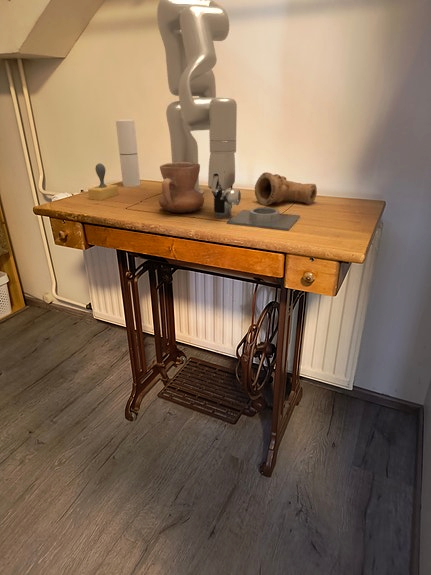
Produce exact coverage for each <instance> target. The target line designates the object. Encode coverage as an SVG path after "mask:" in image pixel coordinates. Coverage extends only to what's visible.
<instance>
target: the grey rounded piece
mask: <svg viewBox="0 0 431 575" xmlns="http://www.w3.org/2000/svg"><path fill="white" fill-rule="evenodd" d="M218 188H220V186H218ZM220 189H221V188H220ZM218 192H220V194H221V191H218ZM241 194H242V193H241V190H240V189H233V188H232V189H231V187H228V188H226V189H224V198H223V199H224V200H225V212H224V213H215V212H214V217H215V218H217V217H218V218H217V219H229V218H231V217H232V208H231V205H232V206H239V205H240V202H241V198H242V195H241ZM230 216H231V217H230ZM228 217H229V218H228Z"/></svg>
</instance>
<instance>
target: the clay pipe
mask: <svg viewBox="0 0 431 575" xmlns="http://www.w3.org/2000/svg"><path fill="white" fill-rule="evenodd" d="M317 194H318V190H317V184H316V183H302V182H295V181H291V180H287V177H286V176H283V175H282V176H281V174H276V173H275V174H273V173H271V172H263V173H262V174H261V175H259V177H258V178H257V180H256V182H255V185H254V196H255V198H256V201H257V202H258V203H259V204H261V205H262V206H264V207H265V206H269V205H272V204H279V203H281V202H282V201H286V200H287V201H293V202H301V203H303V204H305V205H310V204H313V202H315V200H316V198H317Z"/></svg>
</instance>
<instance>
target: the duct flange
mask: <svg viewBox="0 0 431 575" xmlns="http://www.w3.org/2000/svg"><path fill="white" fill-rule="evenodd" d="M300 218H301V215H298V214H292V213H291V214H290V213H289V214H288V213H280V210H279V209H277V208H275V207H268V206H267V207H265V206H263V207H262V206H261V207H254V208H250V209H249V210H248V209H242V210H241V211H240V212H238V213H237V214H235V215H234V216H231V217H230V218H228V220H226V224H227V225H237V226H245V227H252V228H253V227H255V228H261V229H262V228H263V229H270V230H271V229H272V230H279V231H290V229H291V228H292V227H293V226H294V225H295V224H296V223H297V222H298V220H299V219H300Z"/></svg>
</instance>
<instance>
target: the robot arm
mask: <svg viewBox="0 0 431 575" xmlns="http://www.w3.org/2000/svg"><path fill="white" fill-rule="evenodd" d="M156 11H157V13H156V14H157V15H156V19H157V26H158V30H159V34H160V37H161V39H162V44H163V47H164V51H165V63H166V74H167V76H166V77H167V85H168V89H169V92H170V93H171V95H173V96H174V97H178V100H176V101H172V102H170V104H168V105H167V108H166V112H165V113H166V114H165V116H166V122H167V126H168V132H169V139H170V150H171V151H170V153H171V154H170V155H171V163H176V162H190V163H191V164H192V163H198V164H199V148H198V147H199V146H198V141H197V139H196V138H195V137H194V136H193V134H192V133H191V132H193V131H194V132H196V131H198V132H199V131H209V153H210V155H209V160H208V176H207V178H208V179H207V180H208V181H207V182H208V183H207V184H208V188H209V189H210V192H211V194H212V195H213V212H214V214H215V213H224V212H225V200H224V199H223V198H224V189H226V188H228V187H231V189H233V186H234V184H235V182H236V157H235V153H237V123H238V122H237V118H238V117H237V115H238V114H237V113H238V112H237V111H238V109H237V108H238V106H237V105H238V104H237V102H236V99H234V98H229V97H217V90H216V89H217V87H216V76H215V73H214V70H213V68H215V66H216V65H217V59H218V58H217V54H216V50H215V45H214V44H215V43H214V42H223V41H225V40H226V39H227V38H228V35H229V32H230V19H229V15H228V13H227V11H226V10H225V8H224V7H223V6H222V5H220V4H218V2H215V1H213V0H159V2H158V5H157V9H156ZM199 178H200V176H198V179H197V182H196V184H195V187H194V189H195V190H196V191H198V192H199V193H201V194H202V195H203V196H204V190H203V189H200V180H199ZM218 186H220V188H221V189H220V188H218ZM218 191H221V194H220V192H218ZM232 206H233V205H231V209H232Z"/></svg>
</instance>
